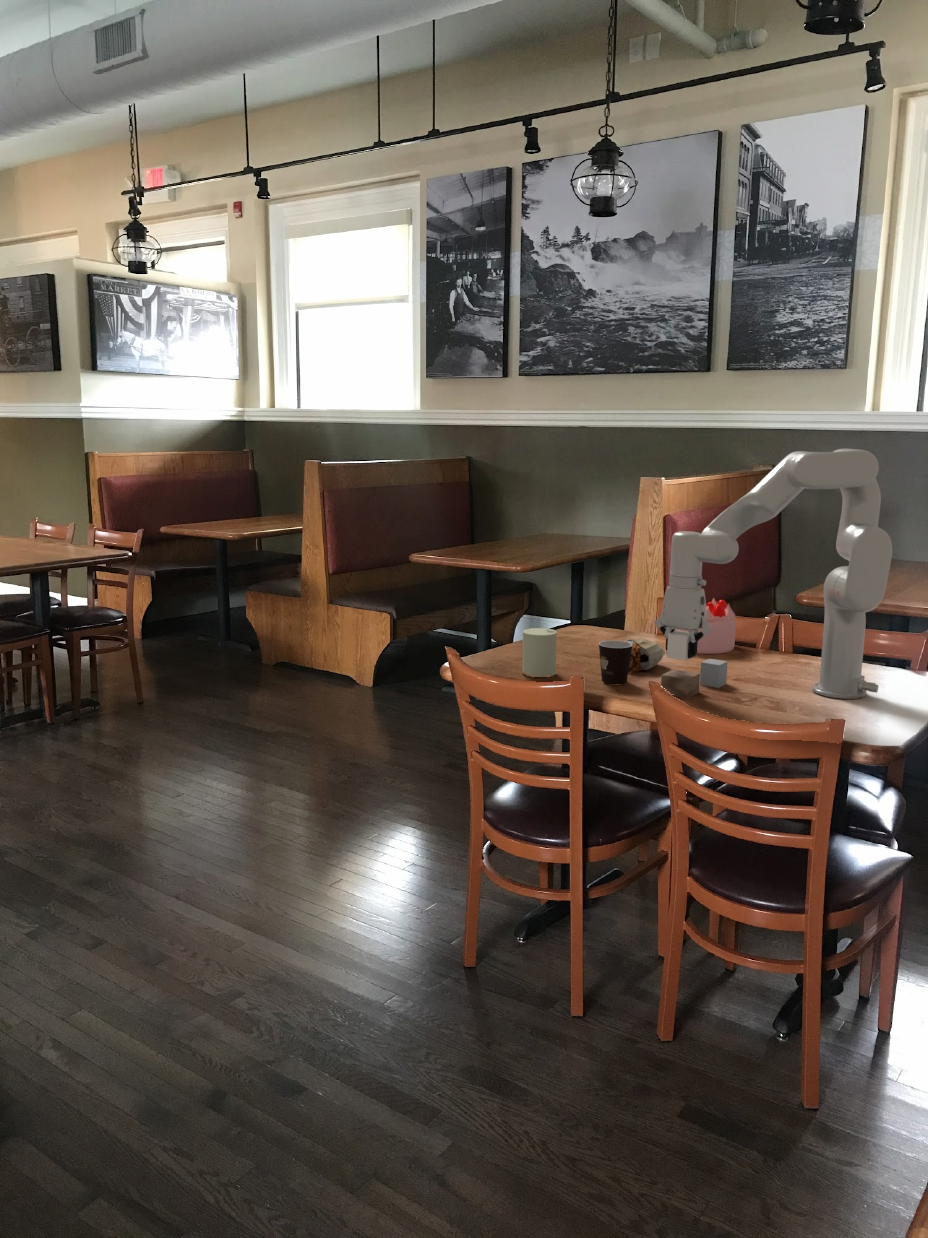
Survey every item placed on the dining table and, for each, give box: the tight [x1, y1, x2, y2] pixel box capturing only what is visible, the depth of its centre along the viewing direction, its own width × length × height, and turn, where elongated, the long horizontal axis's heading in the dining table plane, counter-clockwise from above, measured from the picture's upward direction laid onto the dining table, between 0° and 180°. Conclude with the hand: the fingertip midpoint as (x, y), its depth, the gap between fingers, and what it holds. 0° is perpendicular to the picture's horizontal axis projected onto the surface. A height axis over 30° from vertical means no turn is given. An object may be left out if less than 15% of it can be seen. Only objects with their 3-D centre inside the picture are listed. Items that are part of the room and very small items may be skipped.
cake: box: [675, 597, 737, 655], centre depth 290 cm, size 20×20×14 cm
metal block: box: [660, 668, 700, 699], centre depth 241 cm, size 7×7×5 cm
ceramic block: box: [666, 631, 694, 661], centre depth 239 cm, size 5×5×6 cm
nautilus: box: [625, 637, 666, 676], centre depth 264 cm, size 8×22×15 cm
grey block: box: [699, 658, 729, 689], centre depth 249 cm, size 5×5×6 cm
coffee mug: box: [598, 640, 636, 685], centre depth 249 cm, size 12×9×10 cm
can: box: [521, 627, 558, 676], centre depth 258 cm, size 9×9×12 cm
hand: (680, 654), depth 239 cm, fingers closed on ceramic block, 5 cm apart
